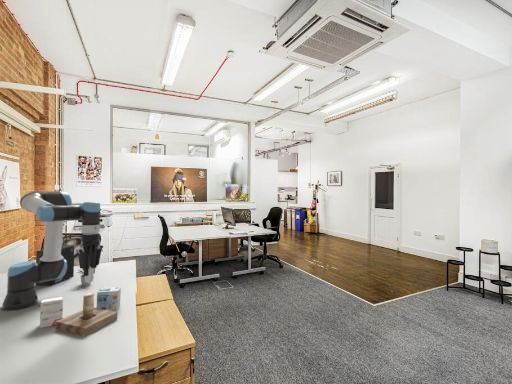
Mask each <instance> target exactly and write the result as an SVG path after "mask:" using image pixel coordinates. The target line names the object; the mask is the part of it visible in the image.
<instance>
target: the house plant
mask: <svg viewBox="0 0 512 384" xmlns="http://www.w3.org/2000/svg"><path fill="white" fill-rule="evenodd" d="M76 266H77V267H79V265H77V264H76ZM89 268H91V267H90V266H89ZM96 269H97V267H96V268H95V270H96ZM76 273H77V274H81V275H80V282H81V283H80V284H81V286H90V285H91V283H92V282H90V283H87V282H85V276H84V269H81V270H80V269H78V271H77V272H76Z"/></svg>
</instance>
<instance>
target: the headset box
mask: <svg viewBox="0 0 512 384" xmlns="http://www.w3.org/2000/svg"><path fill="white" fill-rule="evenodd" d="M43 252H44V248H43V249H40V250H36V253H35V254H36V256H35V258H36V261H35V262H36V263H39V262H40V258H41V257H42V256H43ZM61 255H62V256H63V257H64V259H65V260H66V261H67V270H66V273H65V275H64V276H63V277H62V278H60V279H56V280H51V281H45V282H40V283H35V285H34V286H42V287H43V286H46V287H53V286H55V285H57V284H59V283H62V282H64V281H67V280H68V279H71V278H73V277H74V271H75V245H73V244H71V245H67V244H62V246H61Z"/></svg>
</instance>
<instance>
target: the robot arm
mask: <svg viewBox="0 0 512 384" xmlns="http://www.w3.org/2000/svg"><path fill="white" fill-rule="evenodd" d="M19 206H20V207H21V208H22V209H23V210H24V211H26V212H28V213H34V214H36V215H35V216H36V219H37V221H38V222H40V223H41V222H42V223H44V222H45V224H44V225H45V229H44V239H43V240H44V241H43V249H44V252H43V256H42V257H41V258H40V262H39V263H36V261H35V260H27V261H21V262H17V263H14V264H12V265H10V266H9V267H8V271H7V284H6V285H7V286H6V287H7V288H6V289H7V290H6V295H5V297H4V300H3V302H2V306H1V308H2V310H3V311H4V310H5V311H15V310H21V309H26V308H29V307H32V306H34V305H36V304H38V300H39V298H38V297H39V296H38V295H37V291H36V290H35V286H36V285H35V283H40V282H45V281H51V280H56V279H60V278H62V277H63V276H64V275H65V273H66V270H67V261H66V260H65V259H64V257H63V256H62V255H61V246H62V245H63V232H64V231H63V230H64V222H67V221H81V243H82V244H81V246H80V248H77V249H76V250H75V252H76V253H77V256H78V257H77V258H78V263H79V265H78V266H79V269H81V270H83V269H84V271H83V272H84V274H83V275H84V276H85V282H87V283H90V282H91V283H93V282H94V278H95V277H94V274H95V271H96V269H97V268H98V266H99V264H100V260H101V254H102V249H104V245H100V243H99V242H100V236H101V235H100V232H101V231H100V228H101V227H100V225H101V203H100V202H98V201H85V202H83V203H82V204H78V205H73V203H72V197H71V195H70V194H69V193H68V192H66V191H55V190H54V191H53V190H51V191H49V190H48V191H47V190H44V191H43V190H34V191H30V192H28V193H25V194H24V195H23V196H22V197H21V198H20V200H19ZM89 266H90V267H91V268H89ZM95 268H96V269H95Z"/></svg>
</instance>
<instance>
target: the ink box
mask: <svg viewBox="0 0 512 384" xmlns="http://www.w3.org/2000/svg"><path fill="white" fill-rule="evenodd" d="M39 312H40V315H39V328H40V329H41V328H46V327H47V328H48V327H51V326H56V321H58V320H61V319H63V318H64V317H63V316H64V297H63V296H61V297H60V296H59V297H52V298H47V299H42V300H41V301H40V311H39Z"/></svg>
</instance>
